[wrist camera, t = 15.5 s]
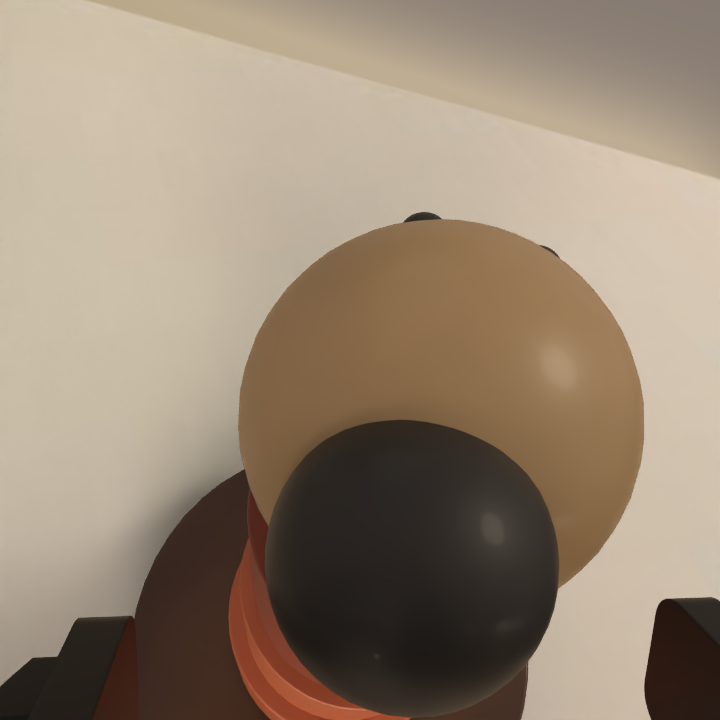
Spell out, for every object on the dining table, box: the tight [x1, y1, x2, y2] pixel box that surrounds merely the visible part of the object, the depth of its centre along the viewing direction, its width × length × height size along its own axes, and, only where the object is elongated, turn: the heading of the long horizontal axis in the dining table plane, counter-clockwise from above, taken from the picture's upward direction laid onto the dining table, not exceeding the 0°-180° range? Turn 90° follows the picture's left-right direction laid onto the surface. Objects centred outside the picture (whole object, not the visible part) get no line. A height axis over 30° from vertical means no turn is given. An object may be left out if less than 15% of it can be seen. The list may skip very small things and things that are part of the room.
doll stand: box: [134, 469, 528, 720], centre depth 21 cm, size 12×12×2 cm
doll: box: [228, 212, 644, 720], centre depth 13 cm, size 6×6×16 cm
